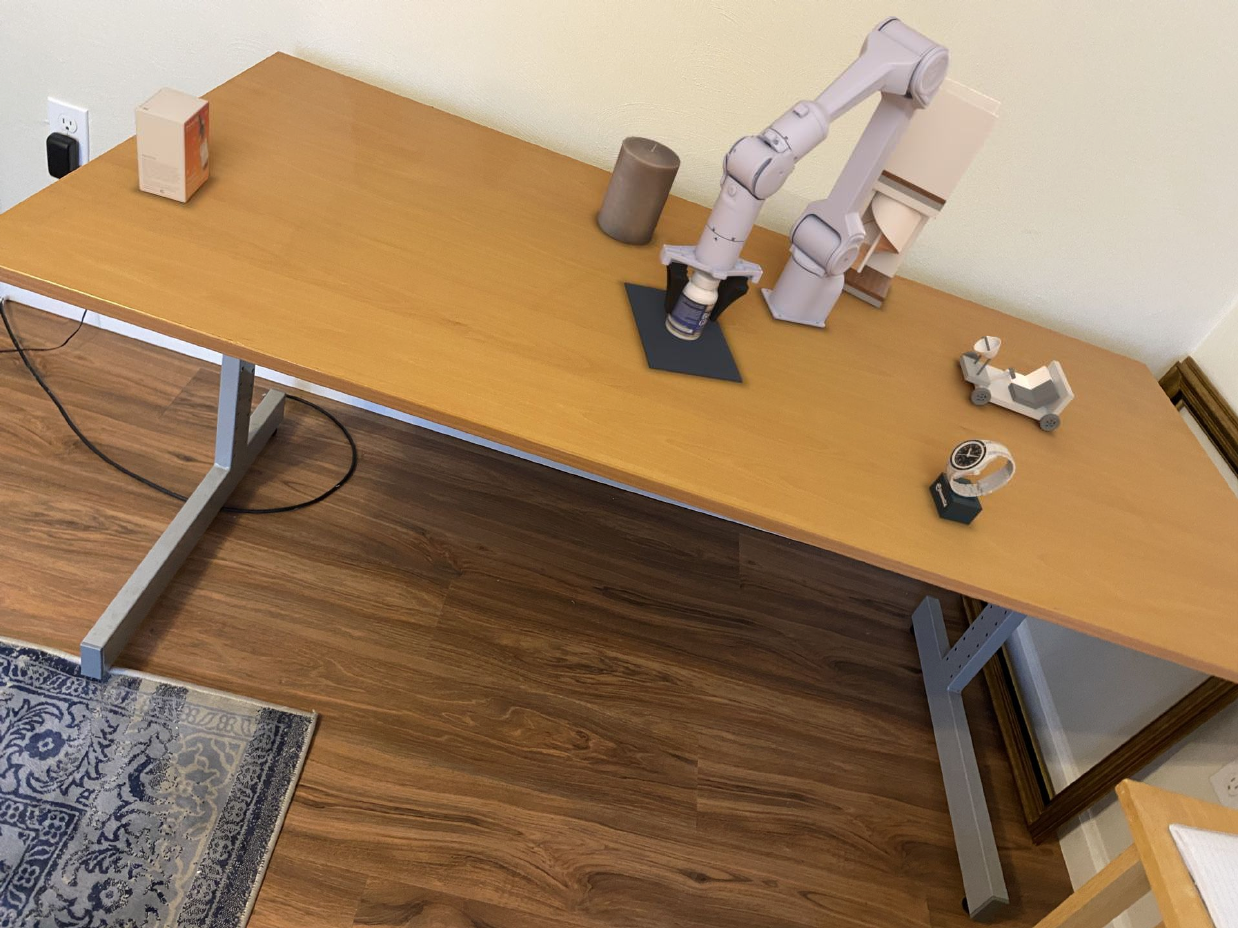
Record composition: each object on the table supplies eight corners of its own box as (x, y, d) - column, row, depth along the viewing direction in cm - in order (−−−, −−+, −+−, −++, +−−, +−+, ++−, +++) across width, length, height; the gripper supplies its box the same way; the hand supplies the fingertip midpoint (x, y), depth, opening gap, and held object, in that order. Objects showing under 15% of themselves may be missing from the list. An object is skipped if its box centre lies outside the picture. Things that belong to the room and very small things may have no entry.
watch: (916, 484, 113) (963, 425, 106) (968, 498, 115) (1018, 440, 107) (927, 514, 109) (977, 455, 102) (980, 528, 110) (1033, 470, 103)
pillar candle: (661, 236, 141) (695, 153, 131) (632, 251, 134) (665, 164, 124) (616, 208, 143) (645, 123, 133) (584, 221, 136) (613, 133, 126)
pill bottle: (696, 346, 119) (723, 289, 113) (661, 332, 119) (686, 274, 113) (701, 328, 123) (728, 272, 117) (667, 314, 123) (692, 257, 117)
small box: (185, 205, 105) (183, 124, 98) (138, 191, 104) (133, 108, 97) (210, 178, 111) (210, 100, 104) (166, 164, 110) (163, 85, 103)
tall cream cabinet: (821, 278, 149) (930, 84, 127) (832, 257, 158) (936, 72, 135) (879, 308, 148) (999, 118, 126) (886, 285, 156) (1001, 103, 134)
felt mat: (708, 300, 131) (708, 298, 130) (742, 382, 117) (742, 381, 117) (624, 283, 126) (624, 282, 126) (649, 368, 112) (650, 366, 112)
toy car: (989, 348, 128) (976, 310, 136) (952, 396, 134) (942, 356, 143) (1093, 388, 129) (1074, 348, 138) (1052, 433, 136) (1036, 392, 144)
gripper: (683, 235, 105) (647, 321, 114) (784, 257, 110) (741, 338, 119) (672, 206, 110) (638, 292, 119) (768, 229, 115) (729, 309, 124)
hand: (689, 313), depth 119 cm, fingers open, 6 cm apart
